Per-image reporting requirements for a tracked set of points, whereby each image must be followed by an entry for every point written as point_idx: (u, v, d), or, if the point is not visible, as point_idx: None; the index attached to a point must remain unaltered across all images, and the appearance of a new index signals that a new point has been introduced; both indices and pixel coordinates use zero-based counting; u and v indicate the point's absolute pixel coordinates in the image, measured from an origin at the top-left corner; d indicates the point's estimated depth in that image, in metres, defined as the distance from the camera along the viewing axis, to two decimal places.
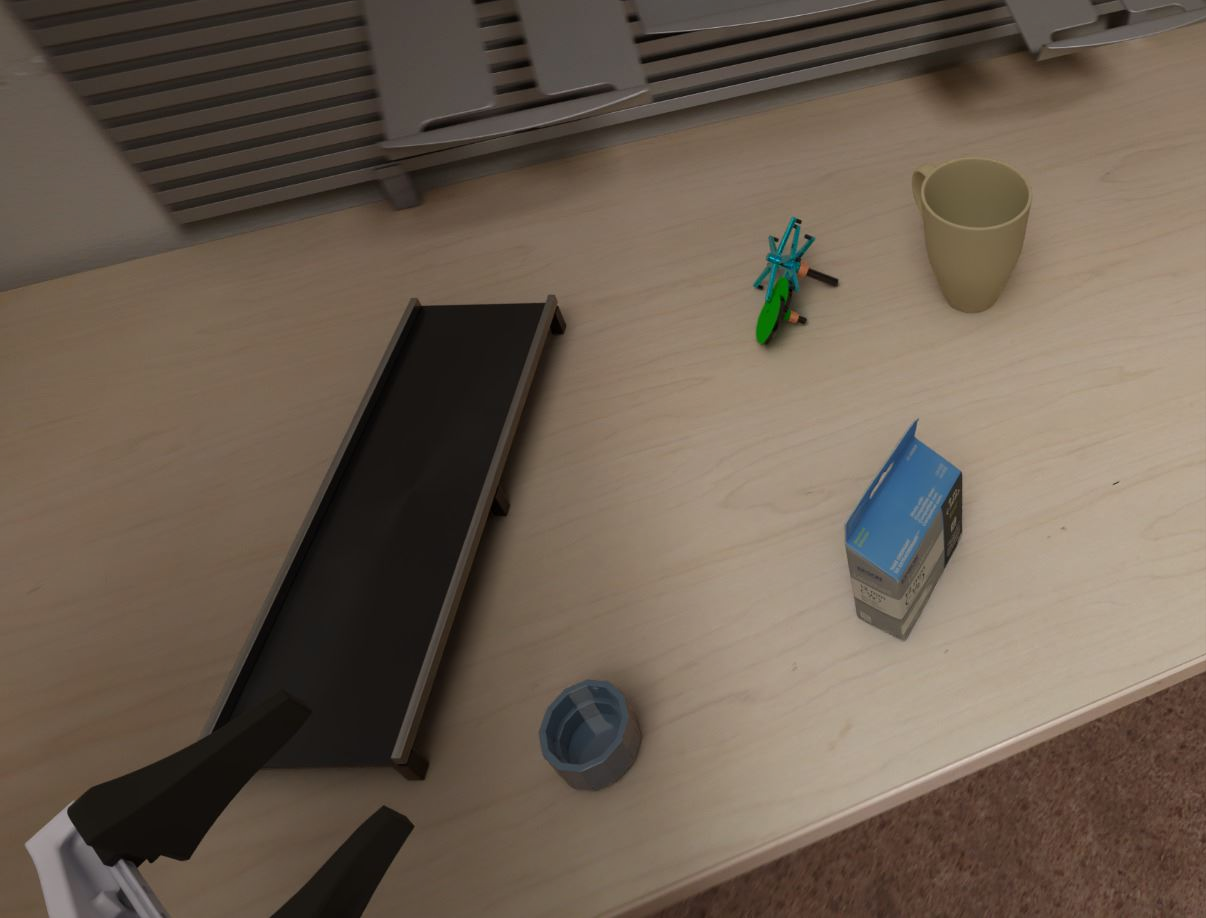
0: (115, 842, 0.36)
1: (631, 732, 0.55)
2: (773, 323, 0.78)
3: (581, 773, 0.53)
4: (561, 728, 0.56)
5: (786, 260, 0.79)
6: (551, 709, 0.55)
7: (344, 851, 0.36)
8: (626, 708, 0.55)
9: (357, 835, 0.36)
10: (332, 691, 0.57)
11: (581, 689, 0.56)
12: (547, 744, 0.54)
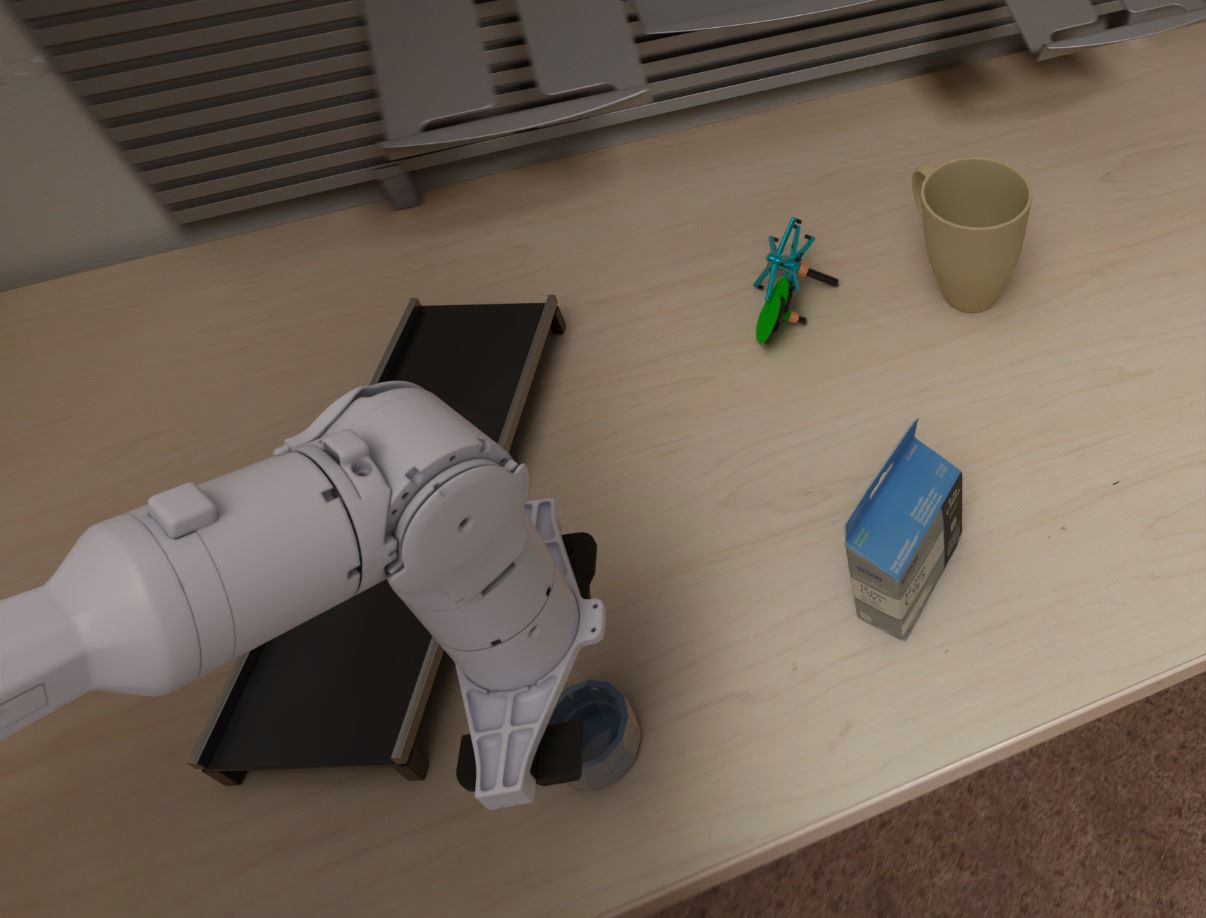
0: None
1: (631, 732, 0.55)
2: (773, 323, 0.78)
3: None
4: None
5: (786, 260, 0.79)
6: None
7: (581, 760, 0.48)
8: (626, 708, 0.55)
9: (581, 762, 0.49)
10: (332, 691, 0.57)
11: (581, 689, 0.56)
12: None
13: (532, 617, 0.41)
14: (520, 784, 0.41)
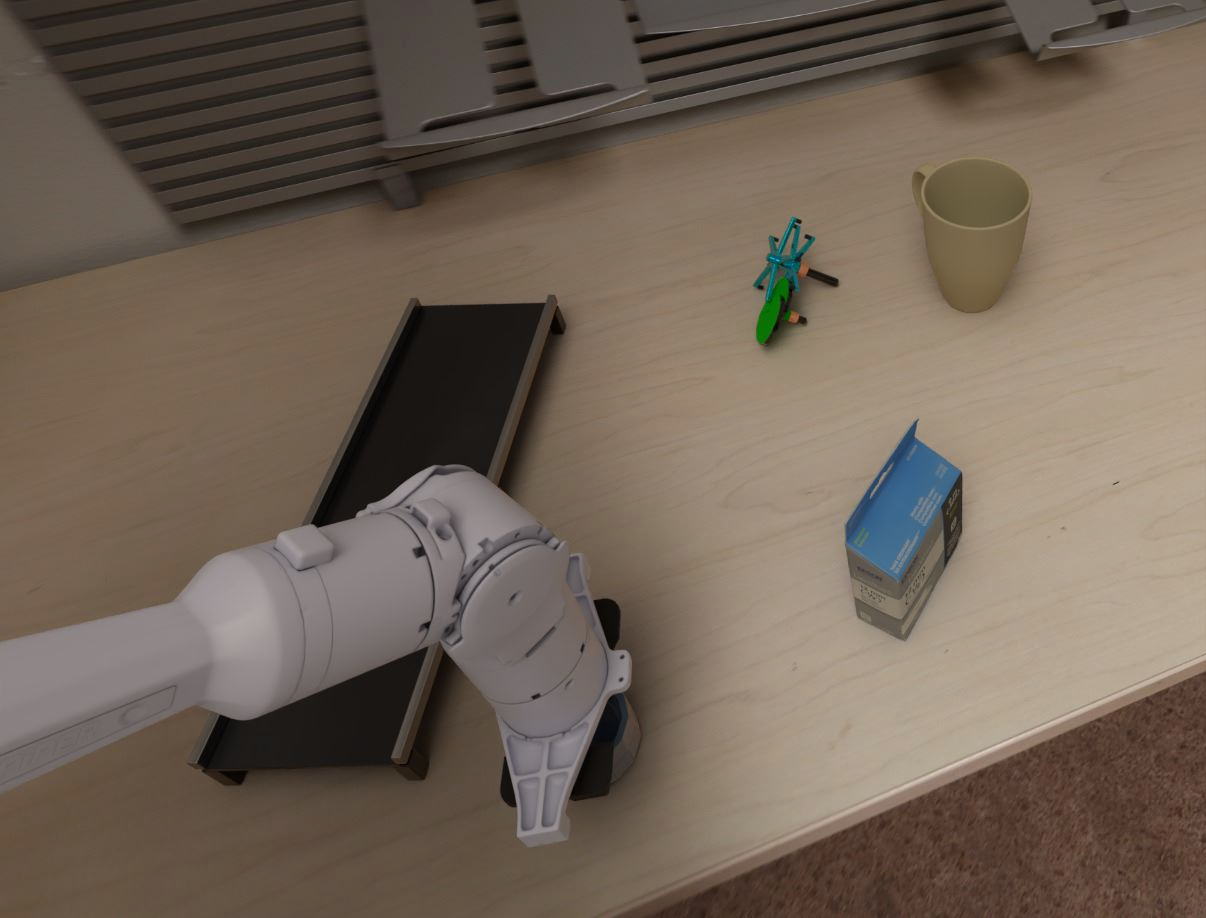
0: None
1: (631, 731, 0.55)
2: (773, 323, 0.78)
3: None
4: None
5: (786, 260, 0.79)
6: None
7: None
8: (626, 707, 0.55)
9: None
10: (332, 691, 0.57)
11: None
12: None
13: (568, 672, 0.46)
14: (558, 825, 0.45)
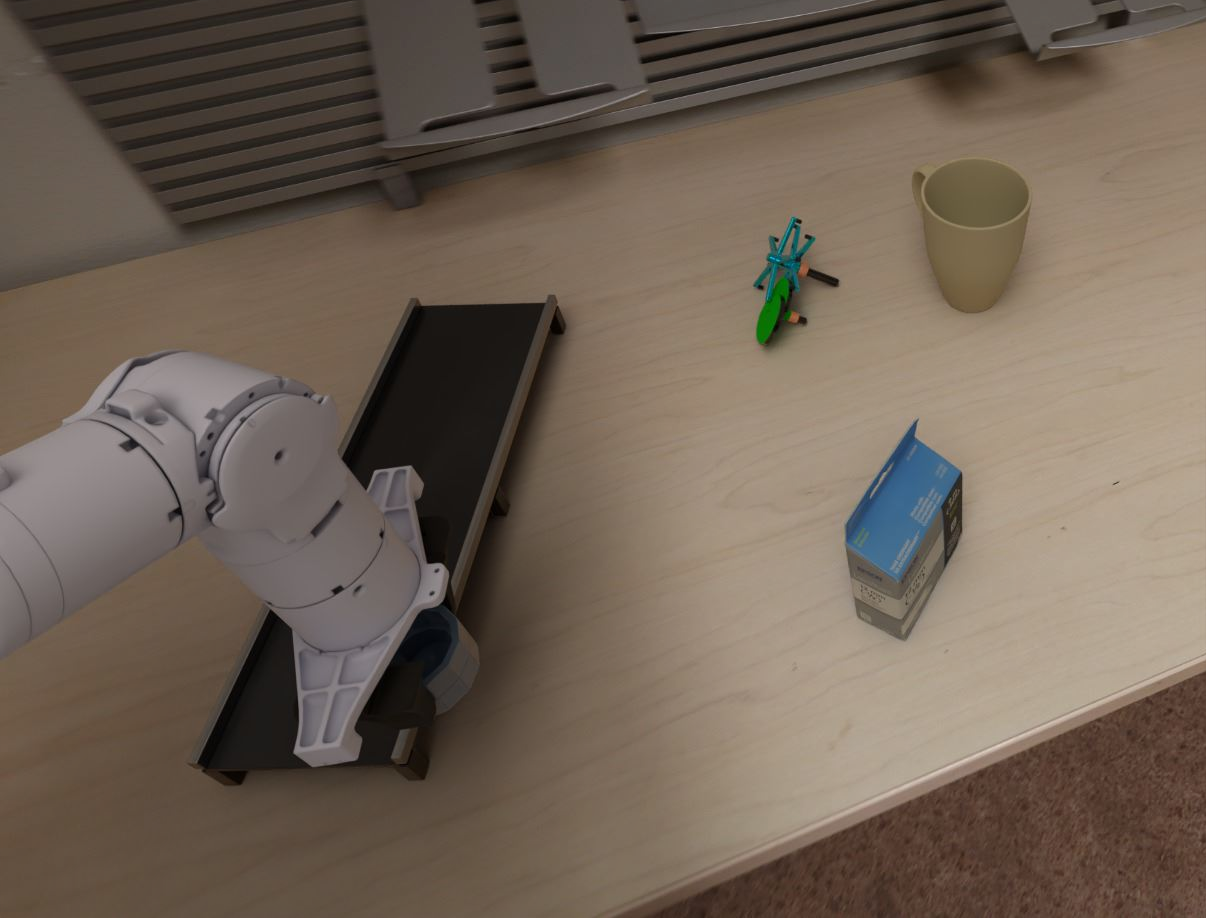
0: None
1: (463, 658, 0.52)
2: (773, 323, 0.78)
3: None
4: None
5: (786, 260, 0.79)
6: None
7: (431, 704, 0.50)
8: (457, 632, 0.52)
9: (433, 706, 0.50)
10: None
11: None
12: None
13: (370, 559, 0.43)
14: (340, 741, 0.41)
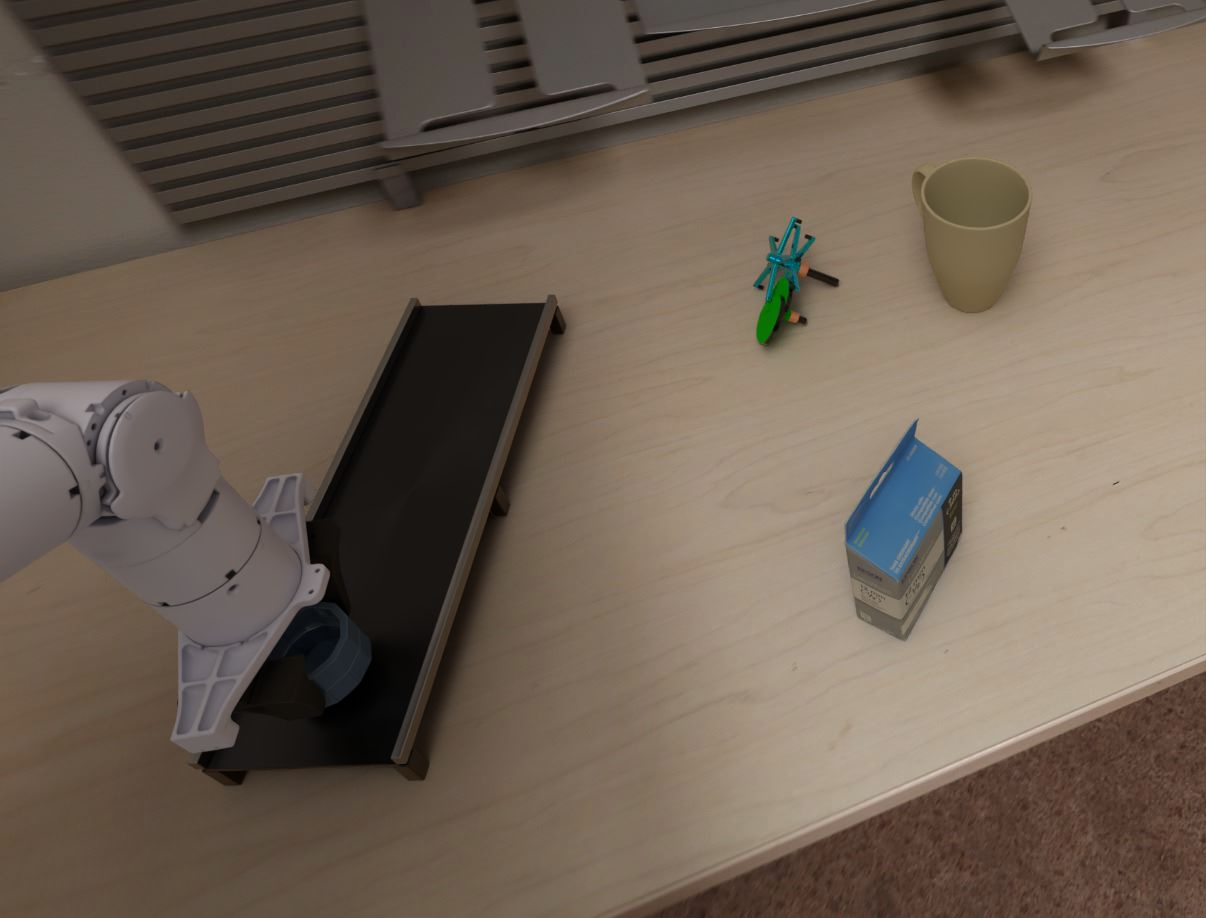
0: (311, 560, 0.54)
1: (352, 653, 0.55)
2: (773, 323, 0.78)
3: None
4: (286, 650, 0.56)
5: (786, 260, 0.79)
6: None
7: (318, 696, 0.53)
8: (346, 628, 0.55)
9: (321, 698, 0.53)
10: None
11: (305, 610, 0.56)
12: None
13: (254, 543, 0.47)
14: (214, 729, 0.45)
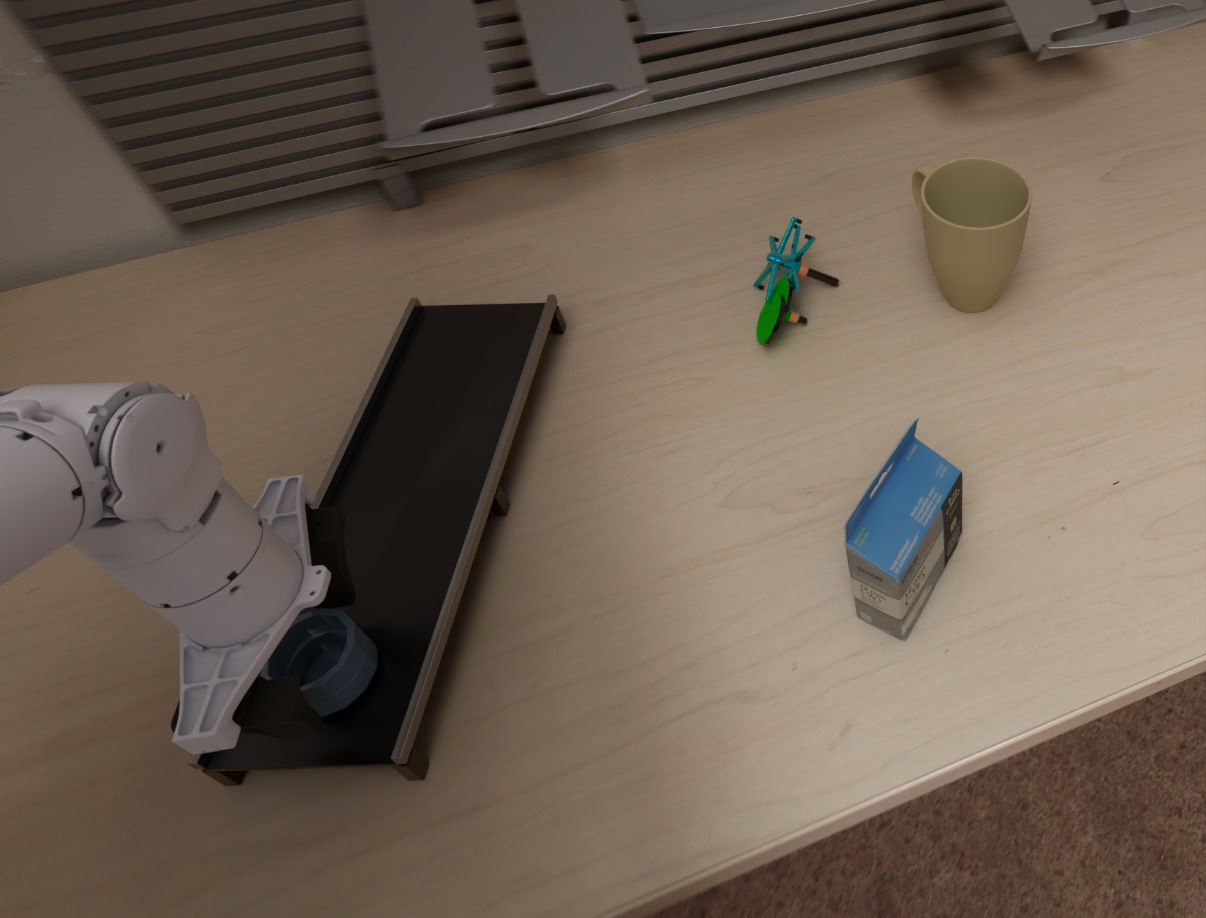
0: (317, 547, 0.54)
1: (359, 659, 0.56)
2: (774, 323, 0.78)
3: None
4: (293, 656, 0.56)
5: (787, 260, 0.79)
6: None
7: (314, 716, 0.52)
8: (353, 635, 0.56)
9: (317, 717, 0.53)
10: None
11: (312, 617, 0.56)
12: (268, 669, 0.54)
13: (256, 544, 0.47)
14: (215, 730, 0.45)
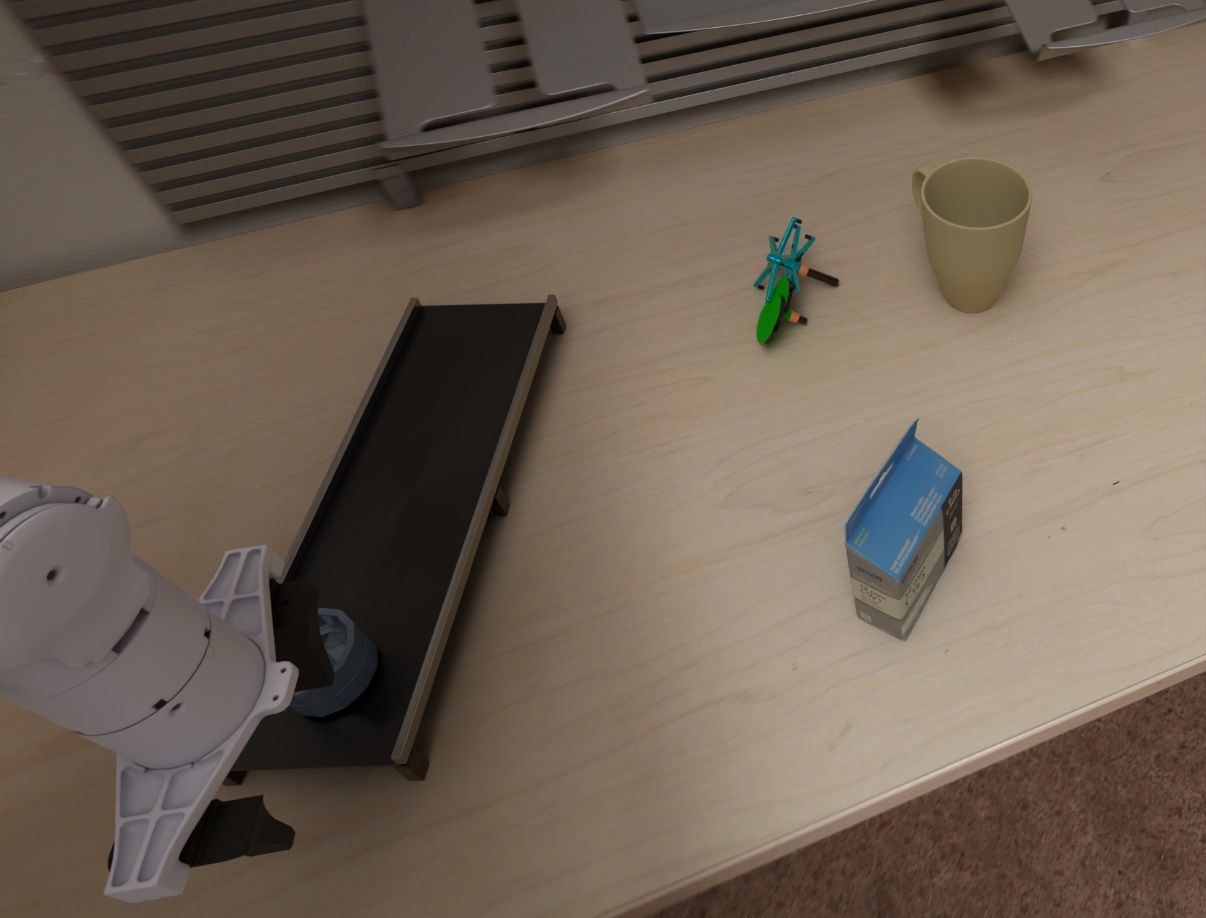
0: (284, 630, 0.46)
1: (359, 659, 0.56)
2: (774, 323, 0.78)
3: (298, 696, 0.53)
4: None
5: (787, 260, 0.79)
6: None
7: (285, 831, 0.45)
8: (353, 635, 0.56)
9: (289, 831, 0.45)
10: None
11: None
12: None
13: (196, 664, 0.38)
14: (156, 879, 0.37)
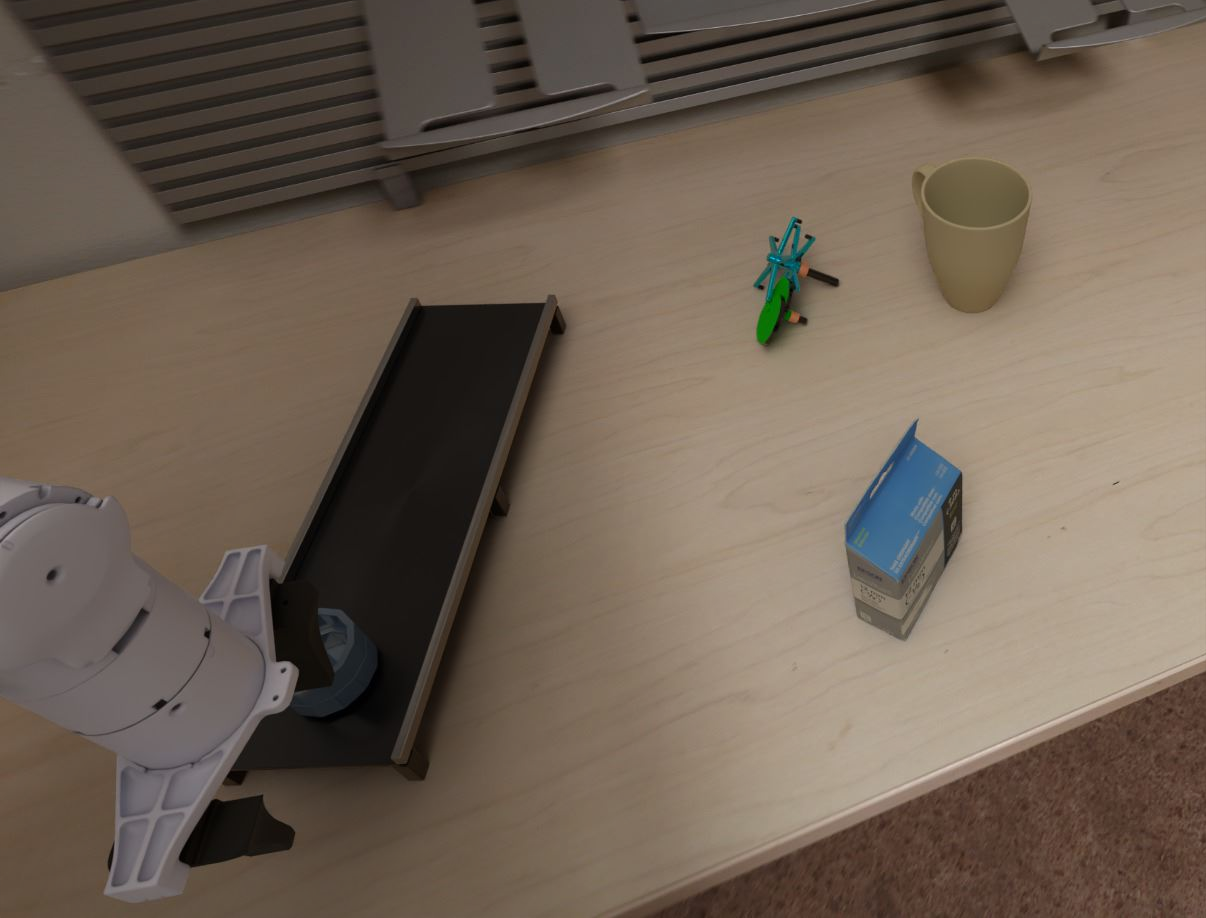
0: (284, 630, 0.46)
1: (359, 659, 0.56)
2: (774, 323, 0.78)
3: (298, 696, 0.53)
4: None
5: (787, 260, 0.79)
6: None
7: (285, 831, 0.45)
8: (353, 635, 0.56)
9: (289, 831, 0.45)
10: None
11: None
12: None
13: (196, 664, 0.38)
14: (156, 879, 0.37)
